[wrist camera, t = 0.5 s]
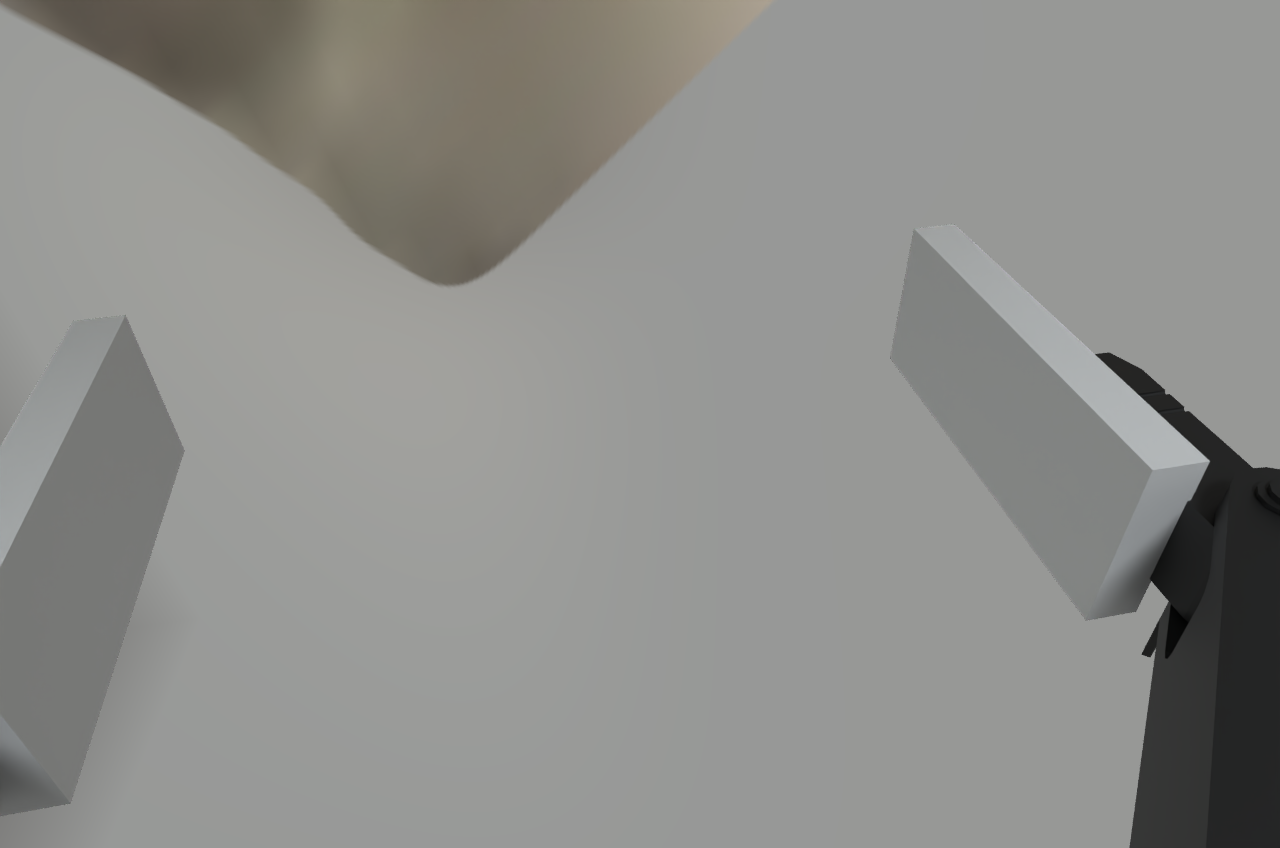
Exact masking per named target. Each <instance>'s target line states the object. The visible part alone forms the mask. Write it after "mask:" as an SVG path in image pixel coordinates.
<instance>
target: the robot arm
mask: <svg viewBox="0 0 1280 848" xmlns="http://www.w3.org/2000/svg"><path fill="white" fill-rule="evenodd" d="M890 359H891V360H892V362H893V363H894V364H895V366H896V367H897V368H898V370H899V371H900V372H901V374H902V375H903V376H904V378H905V379H906V380H907V382H908V383H909V384H910V386H911V387H912V388H913V390H914V391H915V392H916V394H917V395H918V396H919V398H920V399H921V400H922V402H923V403H924V405H925V406H926V407H927V409H928V410H929V411H930V413H931V414H932V415H933V417H934V418H935V419H936V421H937V422H938V423H939V425H940V426H941V427H942V429H943V430H944V431H945V432H946V434H947V435H948V437H950V439H951V441H952V442H953V443H954V445H955V446H956V447H957V449H958V450H959V451H960V453H961V454H962V455H963V457H964V458H965V459H966V461H967V462H968V463H969V465H970V466H971V467H972V469H973V470H974V471H975V473H976V474H977V475H978V477H979V478H980V479H981V481H982V482H983V483H984V485H985V486H986V487H987V489H988V490H989V492H990V493H991V494H992V495H993V497H994V498H995V500H996V501H997V502H998V504H999V505H1000V506H1001V508H1002V509H1003V510H1004V512H1005V513H1006V514H1007V516H1008V517H1009V518H1010V520H1011V521H1012V522H1013V524H1014V525H1015V526H1016V528H1017V529H1018V530H1019V532H1020V533H1021V534H1022V536H1023V537H1024V538H1025V540H1026V541H1027V542H1028V544H1029V545H1030V546H1031V548H1032V549H1033V550H1034V552H1035V553H1036V554H1037V556H1038V557H1039V558H1040V560H1041V561H1042V562H1043V564H1044V565H1045V566H1046V568H1047V569H1048V570H1049V572H1050V573H1051V574H1052V576H1053V577H1054V578H1055V580H1056V581H1057V582H1058V584H1059V585H1060V587H1061V588H1062V589H1063V591H1064V592H1065V593H1066V594H1067V596H1068V597H1069V599H1070V600H1071V601H1072V603H1073V604H1074V605H1075V606H1076V608H1077V609H1078V610H1079V612H1080V613H1081V615H1082V616H1083V617H1084V619H1085V620H1091V619H1098V618H1103V617H1109V616H1114V615H1119V614H1125V613H1130V612H1136V610H1137V609H1138V607H1139V604H1140V602H1141V600H1142V598H1143V596H1144V594H1145V592H1146V590H1147V588H1148V586H1149V584H1150V582H1151V581H1152V582H1153V583H1154V585H1155V586H1156V587H1157V588H1158V589H1159V590H1160V592H1161V593H1162V594H1163V595H1164V596H1165V597H1166V599H1168V601H1169V602H1168V604H1167V606H1166V608H1165V610H1164V612H1163V614H1162V616H1161V618H1160V619H1159V621H1158V623H1157V625H1156V627H1155V629H1154V631H1153V633H1152V635H1151V637H1150V639H1149V641H1148V643H1147V645H1146V646H1145V649H1144V651H1143V652H1142V655H1145V656H1147V657H1151V655H1152V653H1153V652H1154V650H1155V648H1156V652H1155V660H1154V667H1153V675H1152V682H1151V690H1150V697H1149V705H1148V712H1147V720H1146V728H1145V736H1144V743H1143V750H1142V758H1141V766H1140V773H1139V780H1138V788H1137V796H1136V803H1135V812H1134V818H1133V826H1132V834H1131V842H1130V848H1280V469H1274V468H1267V467H1265V468H1252V467H1251V466H1250V465H1249V464H1248V463H1247V462H1246V461H1244V460H1243V459H1242V458H1241V457H1240V456H1239V455H1237V453H1235V452H1234V451H1233V450H1232V449H1231V448H1230V447H1229V446H1227V445H1226V444H1225V443H1224V442H1223V441H1222V440H1221V439H1220V438H1219V437H1217V436H1216V435H1215V434H1214V433H1213V432H1212V431H1211V430H1210V429H1208V428H1207V427H1206V426H1205V425H1204V424H1203V423H1202V422H1201V421H1199V420H1198V419H1197V418H1196V417H1195V416H1194V415H1193V414H1192V413H1190V412H1189V411H1187V412H1185V411H1184V406H1182V405H1181V404H1180V403H1179V402H1178V401H1177V400H1176V399H1175V398H1174V397H1172V396H1171V395H1170V394H1167V395H1166V394H1165V389H1163V388H1162V387H1161V386H1160V385H1159V384H1157V382H1156V381H1154V380H1153V379H1152V378H1151V377H1150V376H1149V375H1148V374H1146V373H1145V372H1144V371H1143V370H1142V369H1140V368H1138V367H1136V366H1134V365H1132V364H1130V363H1129V362H1127V361H1125V360H1123V359H1121V358H1119V357H1117V356H1115V355H1113V354H1111V353H1102V354H1094V353H1093V352H1092V351H1090V350H1089V349H1088V348H1087V347H1086V346H1085V345H1084V344H1083V343H1082V342H1081V341H1080V340H1079V339H1078V338H1077V337H1075V336H1074V335H1073V334H1072V333H1071V332H1070V331H1069V330H1068V329H1067V328H1066V327H1065V326H1064V325H1062V324H1061V323H1060V322H1059V321H1058V320H1057V319H1056V318H1055V317H1054V316H1053V315H1052V314H1051V313H1050V312H1049V311H1047V310H1046V309H1045V308H1044V307H1043V306H1042V305H1041V304H1040V303H1039V302H1038V301H1037V300H1036V299H1035V298H1033V297H1032V296H1031V295H1030V294H1029V293H1028V292H1027V291H1026V290H1025V289H1024V288H1023V287H1022V286H1020V285H1019V284H1018V283H1017V282H1016V281H1015V280H1014V279H1013V278H1012V277H1011V276H1010V275H1009V274H1008V273H1006V272H1005V271H1004V270H1003V269H1002V268H1001V267H1000V266H999V265H998V264H997V263H996V262H994V261H993V260H992V259H991V258H990V257H989V256H988V255H987V254H986V253H985V252H984V251H983V250H982V249H981V248H980V247H978V246H977V245H976V244H975V243H974V242H973V241H972V240H971V239H970V238H969V237H968V236H967V235H966V234H964V233H963V232H962V231H961V230H960V229H959V228H958V227H957V226H956V225H955V224H951V225H943V226H933V227H923V228H915V229H914V231H913V236H912V242H911V247H910V252H909V258H908V263H907V269H906V274H905V279H904V285H903V290H902V297H901V301H900V307H899V312H898V317H897V323H896V328H895V334H894V339H893V345H892V350H891V356H890ZM183 454H184V448H183V446H182V444H181V441H180V439H179V437H178V435H177V432H176V430H175V428H174V425H173V423H172V421H171V418H170V416H169V414H168V412H167V409H166V407H165V405H164V402H163V400H162V398H161V396H160V394H159V391H158V389H157V386H156V384H155V382H154V379H153V377H152V375H151V372H150V370H149V368H148V366H147V363H146V361H145V359H144V357H143V354H142V352H141V350H140V347H139V345H138V343H137V340H136V338H135V336H134V333H133V331H132V329H131V326H130V324H129V322H128V320H127V318H126V315H123V316H114V317H105V318H95V319H86V320H77V321H73V322H72V324H71V325H70V327H69V329H68V331H67V332H66V334H65V336H64V338H63V339H62V341H61V343H60V345H59V346H58V348H57V350H56V351H55V353H54V355H53V356H52V358H51V360H50V362H49V364H48V365H47V367H46V369H45V370H44V372H43V374H42V376H41V377H40V379H39V381H38V383H37V384H36V386H35V388H34V389H33V391H32V393H31V394H30V396H29V398H28V400H27V401H26V403H25V405H24V406H23V408H22V410H21V412H20V413H19V415H18V417H17V418H16V420H15V422H14V424H13V425H12V427H11V429H10V431H9V432H8V434H7V436H6V438H5V439H4V441H3V443H2V444H1V446H0V816H3V815H8V814H15V813H20V812H26V811H31V810H37V809H42V808H48V807H53V806H59V805H65V804H70V803H71V801H72V797H73V794H74V791H75V788H76V785H77V782H78V779H79V776H80V773H81V770H82V766H83V763H84V760H85V757H86V754H87V751H88V748H89V744H90V742H91V739H92V735H93V732H94V729H95V726H96V723H97V720H98V717H99V714H100V711H101V707H102V704H103V701H104V698H105V695H106V692H107V689H108V686H109V683H110V680H111V677H112V673H113V670H114V667H115V664H116V661H117V658H118V655H119V652H120V649H121V646H122V643H123V640H124V636H125V633H126V630H127V627H128V624H129V621H130V618H131V615H132V612H133V608H134V605H135V602H136V599H137V596H138V593H139V590H140V587H141V584H142V581H143V578H144V574H145V571H146V568H147V565H148V562H149V559H150V556H151V553H152V550H153V546H154V543H155V540H156V537H157V534H158V531H159V528H160V525H161V522H162V519H163V516H164V512H165V509H166V506H167V503H168V500H169V497H170V494H171V491H172V488H173V485H174V481H175V478H176V475H177V472H178V469H179V466H180V463H181V460H182V457H183Z"/></svg>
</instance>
